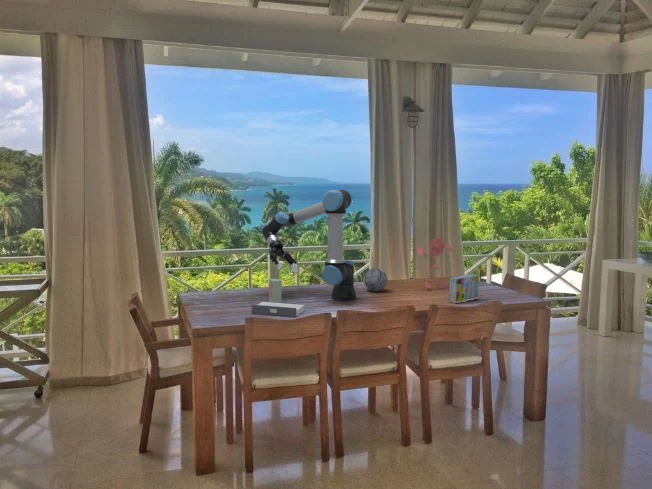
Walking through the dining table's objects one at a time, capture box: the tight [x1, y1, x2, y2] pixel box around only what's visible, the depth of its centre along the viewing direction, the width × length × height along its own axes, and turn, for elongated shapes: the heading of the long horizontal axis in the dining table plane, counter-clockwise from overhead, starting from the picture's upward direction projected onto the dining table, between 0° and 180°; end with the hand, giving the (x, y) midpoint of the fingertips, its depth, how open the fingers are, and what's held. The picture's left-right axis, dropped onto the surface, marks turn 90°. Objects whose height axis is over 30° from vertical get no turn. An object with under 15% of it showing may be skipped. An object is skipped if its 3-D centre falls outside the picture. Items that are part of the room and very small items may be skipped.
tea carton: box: [268, 278, 283, 303], centre depth 296 cm, size 5×7×14 cm
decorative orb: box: [363, 267, 388, 292], centre depth 338 cm, size 15×14×15 cm
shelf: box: [251, 301, 305, 318], centre depth 278 cm, size 24×16×4 cm, turn 75°
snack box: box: [448, 274, 480, 302], centre depth 313 cm, size 21×6×15 cm, turn 129°
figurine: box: [416, 236, 454, 289], centre depth 343 cm, size 15×26×35 cm, turn 115°
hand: (288, 270), depth 301 cm, fingers open, 13 cm apart
